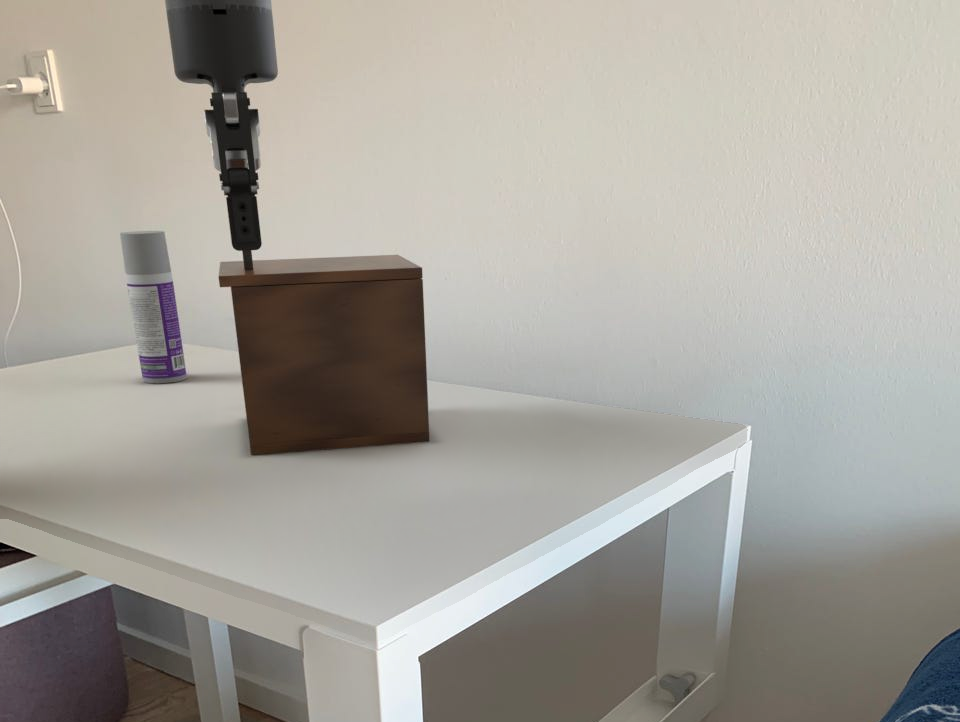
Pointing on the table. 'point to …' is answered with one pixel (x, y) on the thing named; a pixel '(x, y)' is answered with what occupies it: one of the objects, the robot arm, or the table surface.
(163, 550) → the table surface
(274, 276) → the lid
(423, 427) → the chest
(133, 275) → the container
